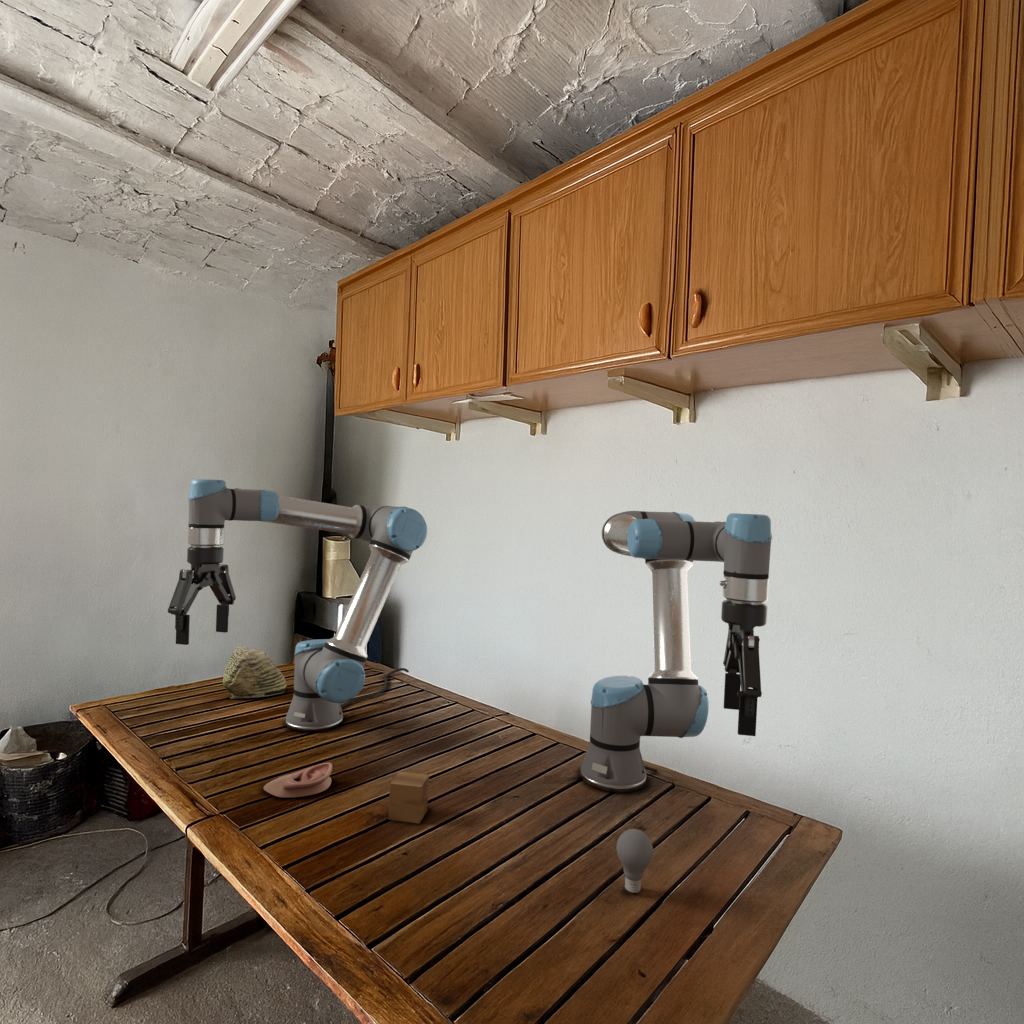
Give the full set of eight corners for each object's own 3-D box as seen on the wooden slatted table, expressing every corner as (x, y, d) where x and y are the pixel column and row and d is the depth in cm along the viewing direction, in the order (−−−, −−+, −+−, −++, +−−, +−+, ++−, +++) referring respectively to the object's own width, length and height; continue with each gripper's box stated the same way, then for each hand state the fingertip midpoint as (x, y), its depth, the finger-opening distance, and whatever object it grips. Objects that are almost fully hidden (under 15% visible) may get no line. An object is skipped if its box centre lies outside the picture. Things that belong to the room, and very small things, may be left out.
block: (398, 806, 131) (399, 771, 131) (427, 810, 130) (429, 774, 130) (388, 819, 126) (389, 783, 125) (419, 823, 125) (420, 786, 124)
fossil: (218, 695, 195) (220, 647, 195) (278, 685, 208) (279, 640, 207) (228, 703, 189) (230, 653, 188) (289, 692, 201) (290, 645, 201)
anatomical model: (255, 775, 133) (285, 754, 145) (254, 793, 133) (285, 771, 145) (313, 783, 131) (339, 761, 142) (312, 802, 131) (338, 779, 142)
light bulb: (610, 879, 108) (613, 822, 108) (644, 879, 109) (647, 822, 109) (619, 902, 102) (622, 840, 102) (655, 901, 103) (658, 840, 103)
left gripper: (225, 542, 159) (223, 626, 159) (150, 548, 134) (147, 648, 135) (252, 543, 157) (249, 628, 158) (182, 550, 133) (178, 651, 133)
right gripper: (711, 590, 124) (706, 697, 125) (735, 611, 100) (729, 745, 100) (751, 592, 123) (746, 701, 123) (786, 614, 98) (779, 750, 99)
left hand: (202, 637), depth 146 cm, fingers open, 13 cm apart
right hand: (738, 721), depth 112 cm, fingers open, 13 cm apart
